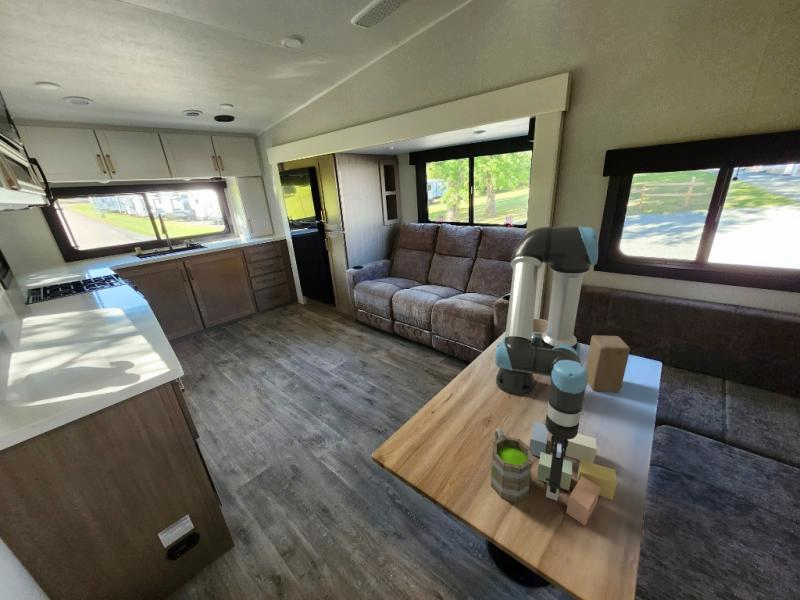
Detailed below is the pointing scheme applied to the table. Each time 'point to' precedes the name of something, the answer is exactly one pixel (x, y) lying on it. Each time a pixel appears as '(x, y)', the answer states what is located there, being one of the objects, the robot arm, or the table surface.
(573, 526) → the table surface
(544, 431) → the slate brick
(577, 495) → the terracotta brick
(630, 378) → the table surface
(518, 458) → the mug
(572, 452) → the cream brick
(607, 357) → the wooden block
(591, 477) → the ochre brick
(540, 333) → the planter
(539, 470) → the sage brick
